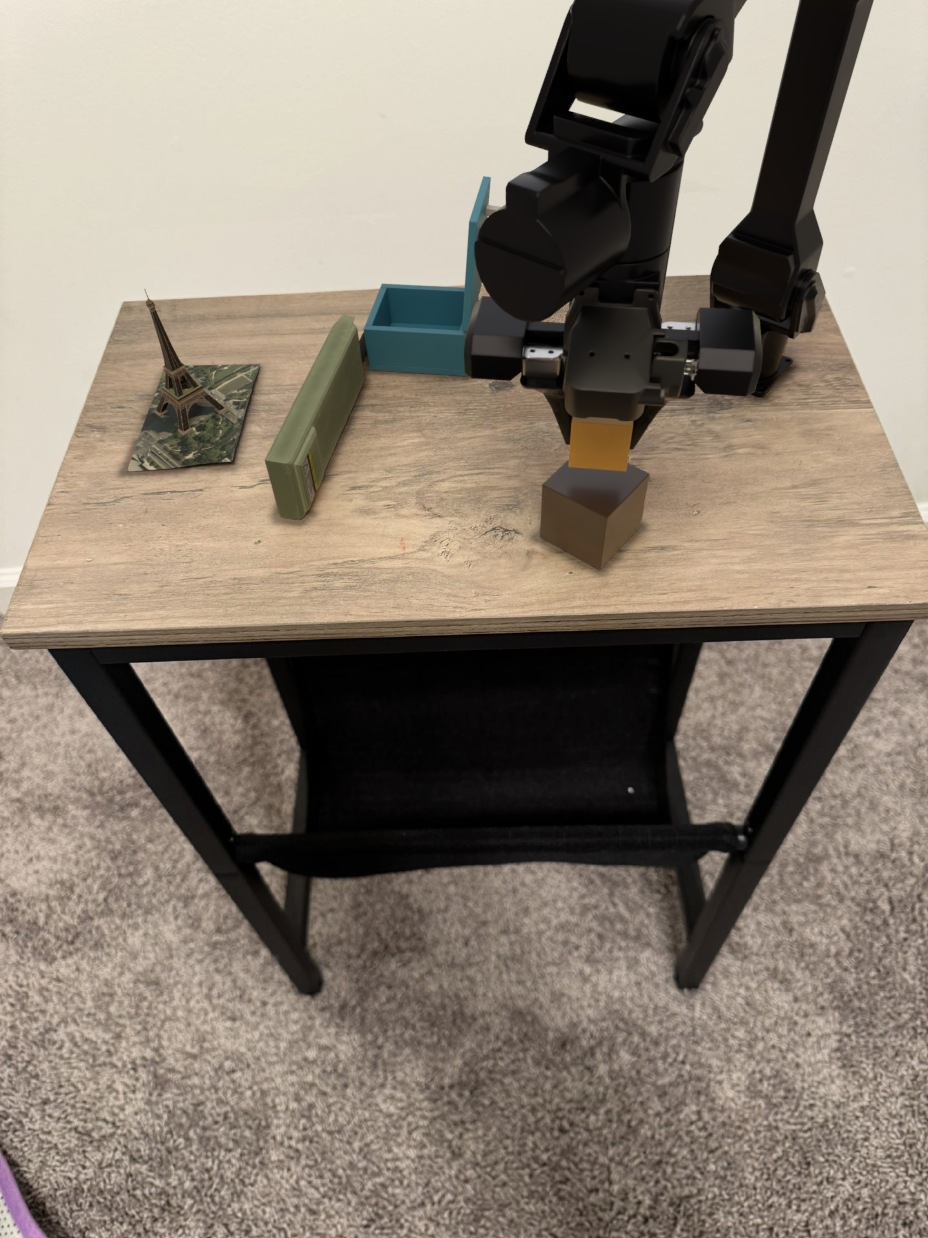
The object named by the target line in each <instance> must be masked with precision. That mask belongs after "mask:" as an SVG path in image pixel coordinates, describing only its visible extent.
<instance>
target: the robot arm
mask: <svg viewBox="0 0 928 1238" xmlns="http://www.w3.org/2000/svg"><path fill="white" fill-rule="evenodd" d="M747 1H748V0H573V2H572V4H571V5H570V6H569V8H568V11H567V13H566V15H565V17H564V20H563V23H562V26H561V29H560V32H559V35H558V38H557V41H556V44H555V46H554V49H553V52H552V55H551V58H550V60H549V63H548V66H547V69H546V73H545V75H544V78H543V82H542V84H541V86H540V90H539V92H538V96H537V99H536V102H535V105H534V106H533V110H532V113H531V116H530V119H529V121H528V125H527V127H526V130H525V134H524V139H523V140H524V143H525V144H526V145H528V146H530V147H531V146H532V147H535V148H538V149H541V150H544V151H547V160H546V161H545V162H543V163H542V164H540V165H539V166H537V167H535V168H534V169H532V170H530V171H526V172H522V173H520V174H518V175H517V176H515V177H514V178H513V179H511V180H509V181H508V182H507V184H506V186H505V204H504V205H503V206H500V207H501V208H499V209H498V210H496V211H495V212H493V213H492V214H491V215H490V216H488V217H487V218H486V219H485V221H484V223H483V224H482V226H481V228H480V230H479V234H478V238H477V241H475V243H474V256H475V263H476V268H477V271H478V274H479V277H480V280H481V281H482V286H483V287H484V290H485V291H486V293H487V294H488V295H482V296H481V297H479V301H478V302H477V303H476V304H475V305H474V308H473V311H472V315H471V319H470V322H469V326H468V329H467V333H466V337H465V343H464V366H465V373H466V374H467V375H468V376H467V377H469V378H470V379H474V380H487V381H488V380H489V381H502V382H511V381H512V380H514V379H515V378H516V377H518V376H519V375H520V376H519V377H520V378H519V383H520V385H521V387H522V388H523V389H525V390H532V391H536V392H539V393H540V394H542V395H543V396H544V397H545V399H546V401H547V403H548V404H549V406H550V408H551V411H552V413H553V416H554V418H555V421H556V423H557V425H558V426H557V427H558V428H559V431H560V433H561V436H562V438H563V442H564V443H565V445H567V446H570V436H571V423H572V416H573V417H576V418H588V417H596V418H610V419H617V420H619V421H633V429H632V436H631V443H630V449H629V451H630V450H631V451H632V450H634V449H635V448H636V446H637V445H638V443H639V442H640V440H641V438H643V436H644V434H645V433H646V431H647V430H648V428H649V427H650V425H651V424H652V422H653V421H654V419H655V418H656V417H657V415H658V414H659V413H660V412H661V410H663V408H664V407H665V406H666V405H667V404H669V403H670V402H673V401H674V402H675V401H679V400H681V401H688V400H691V399H692V398H693V397H694V396H695V394H696V387H698V389H699V390H700V391H701V392H702V393H703V394H704V395H715V396H730V397H746V398H747V397H748V396H750V395H754V396H757V397H764V396H766V394H767V393H768V392H769V391H770V390H771V389H772V388H773V387H774V386H775V385H776V384H777V383H778V382H779V380H780V379H781V378H782V377H784V375H785V374H786V373H787V372H788V371H789V370H790V369H791V368H792V366H793V364H794V359H792V358H790V357H789V356H786V355H784V353H785V350H786V348H787V344H788V341H789V339H791V340H795V339H796V338H797V337H798V336H799V335H800V334H807V333H812V331H814V330H815V327H816V323H817V320H818V317H819V314H820V311H821V309H822V307H823V301H824V299H825V296H826V293H827V292H826V288H825V286H824V282H823V280H822V276H821V273H820V272H819V271H818V267H819V264H820V259H821V256H822V251H823V247H824V239H823V236H822V232H821V229H820V225H819V222H818V219H817V217H816V212H815V203H816V200H817V196H818V192H819V189H820V185H821V183H822V179H823V176H824V172H825V169H826V165H827V161H828V158H829V155H830V152H831V149H832V145H833V141H834V138H835V134H836V131H837V127H838V125H839V120H840V117H841V115H842V111H843V110H842V109H843V107H844V104H845V100H846V98H847V97H846V96H847V94H848V89H849V87H850V83H851V80H852V79H851V78H852V77H853V73H854V70H855V65H856V63H857V59H858V56H859V52H860V49H861V45H862V42H863V39H864V36H865V33H866V28H867V25H868V22H869V19H870V15H871V11H872V8H873V5H874V1H875V0H798V6H797V10H796V14H795V18H794V22H793V27H792V31H791V35H790V39H789V43H788V48H787V53H786V56H785V61H784V65H783V70H782V73H781V78H780V82H779V85H778V86H779V87H778V90H777V96H776V100H775V104H774V108H773V113H772V116H771V121H770V126H769V130H768V134H767V139H766V143H765V146H764V151H763V156H762V159H761V164H760V167H759V168H760V169H759V172H758V176H757V181H756V185H755V191H754V194H753V199H752V202H751V206H750V210H749V212H748V213H747V214H745V216H744V217H743V219H741V220H740V222H739V223H738V224H737V225H736V226H735V227H734V228H733V229H732V230H731V231H730V232H729V233H728V235H727V236H726V237H725V238H724V239H723V240H722V241H721V242H720V243H719V245H718V250H717V254H716V256H715V258H714V261H713V263H712V266H711V269H710V273H709V307H701V306H700V307H699V308H698V310H697V312H696V316H695V321H694V322H693V321H692V322H691V321H690V322H689V321H673V320H672V321H670V320H669V321H664V322H663V319H662V318H663V317H662V315H661V309H662V303H663V296H664V290H665V284H666V283H665V282H666V277H667V272H668V266H669V259H670V254H671V253H670V252H671V247H672V240H673V233H674V229H675V228H674V227H675V222H676V221H675V219H676V216H677V210H678V209H677V208H678V202H679V196H680V191H681V184H682V177H683V172H684V166H685V158H686V154H687V152H688V150H689V148H690V146H691V144H692V143H693V140H694V138H696V137H697V136H698V135H699V134H700V133H701V132H702V131H703V128H704V118H705V116H706V114H707V112H708V110H709V108H710V106H711V104H712V102H713V100H714V98H715V96H716V94H717V92H718V91H719V89H720V87H721V84H722V82H723V80H724V78H725V76H726V74H727V71H728V69H729V65H730V64H731V62H732V60H733V56H734V42H735V24H736V22H735V20H736V19H737V17H738V15H739V13H740V12H741V10H742V9H743V7H744V5H746V3H747ZM576 100H577V101H578V102H580V103H583V104H585V105H589V106H593V107H597V108H599V109H604V110H606V111H607V110H608V111H611V112H615V113H619V114H622V115H621V116H620V117H618V118H617V119H615V120H614V121H612V122H611V121H607V120H603V119H600V118H597V117H593V116H589V115H587V114H583V113H579V112H575V111H571V108H572V106H573V104H574V103H575V101H576ZM567 304H568V309H567V312H566V314H565V318H564V321H562V322H555V321H554V322H553V321H545V320H547V319H550V318H551V317H553V316H554V315H555V314H556V313H557V312H558V311H561V309H562V308H563V307H565V306H566V305H567Z"/></svg>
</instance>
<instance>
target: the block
mask: <svg viewBox="0 0 928 1238" xmlns="http://www.w3.org/2000/svg"><path fill="white" fill-rule="evenodd" d="M632 429H633V421H619V420H617V419H610V418H596V417H588V418H576V417H573V416H572V423H571V436H570V445H569V451H568V460H569V463H568V467H574V468H587V469H599V470H612V471H625V472H626V469H627V463H628V462H629V455H630V450H629V449H630V443H631V436H632Z"/></svg>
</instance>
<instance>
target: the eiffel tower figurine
mask: <svg viewBox="0 0 928 1238" xmlns="http://www.w3.org/2000/svg"><path fill="white" fill-rule="evenodd" d="M143 290H144V293H145V296H146V301H145V304H146V305H145V306H146V308H147V309H148V310H149V313H150V316H151V319H152V323H153V326H154V329H155V333H156V336H157V339H158V343H159V346H160V350H161V354H162V358H163V364H164V365H163V367H162V368H163V370H162V372H161V376H160V379H159V381H158V385H157V387H156V390H155V392H154V396H153V398H152V400H151V403H150V406H149V409H148V410H147V414H146V416H145V419H144V422H143V424H142V427H141V430H140V432H139V435H138V438H137V441H136V444H135V447H134V450H133V453H132V456H131V458H130V461H129V464H128V467H127V470H126V472H127V473H129V472H140V471H153V470H167V469H169V470H170V469H177V468H184V467H191V466H197V465H203V464H204V465H205V464H215V463H228V462H233V460H234V457H235V452H236V449H237V446H238V442H239V439H240V435H241V432H242V428H243V424H244V419H245V416H246V411H247V408H248V406H249V405H248V404H249V401H250V397H251V394H252V390H253V387H254V384H255V381H256V378H257V375H258V372H259V369H260V365H261V363H250V364H247V363H245V364H243V363H242V364H188V365H187V364H184V363H183V362H182V361H181V360H180V357H179V356H178V354H177V352H176V350H175V348H174V346H173V344H172V342H171V339H170V338H169V336H168V334H167V331H166V330H165V326H164V324H163V322H162V321H161V318H160V316H159V313H158V311H157V309H156V303H155V302H154V301H153V300H152V299H150V298H149V295H148V293H147V291H146V288H144V289H143Z"/></svg>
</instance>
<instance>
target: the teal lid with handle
mask: <svg viewBox="0 0 928 1238" xmlns="http://www.w3.org/2000/svg"><path fill="white" fill-rule="evenodd" d="M491 181H492V177H490V176H486V175H483V176H482V179H481V182H480V185H479V189H478V192H477V195H476V198H475V201H474V204H473V208H472V211H471V214H470V217H469V221H468V232H467V245H466V259H465V261H466V262H465V277H464V288H465V290H464V305H463V320H462V331H467V329H468V326H469V322H470V319H471V315H472V311H473V308H474V305H475V304H476V303H477V300H478V297H479V296H480V294H481V290H482V286H483V283H482V281H481V280H480V277H479V274H478V271H477V268H476V263H475V256H474V243H475V241H477V238H478V234H479V230H480V228H481V226H482V224H483V223H484V221H485V219H486V218H488V217H489V216H490V215H491V214H492V213H493V212H495V211H496V210H498V209H499V208H501V207H502V206H498V205H491V204H490V194H491V193H490V192H491ZM479 298H480V297H479Z"/></svg>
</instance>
